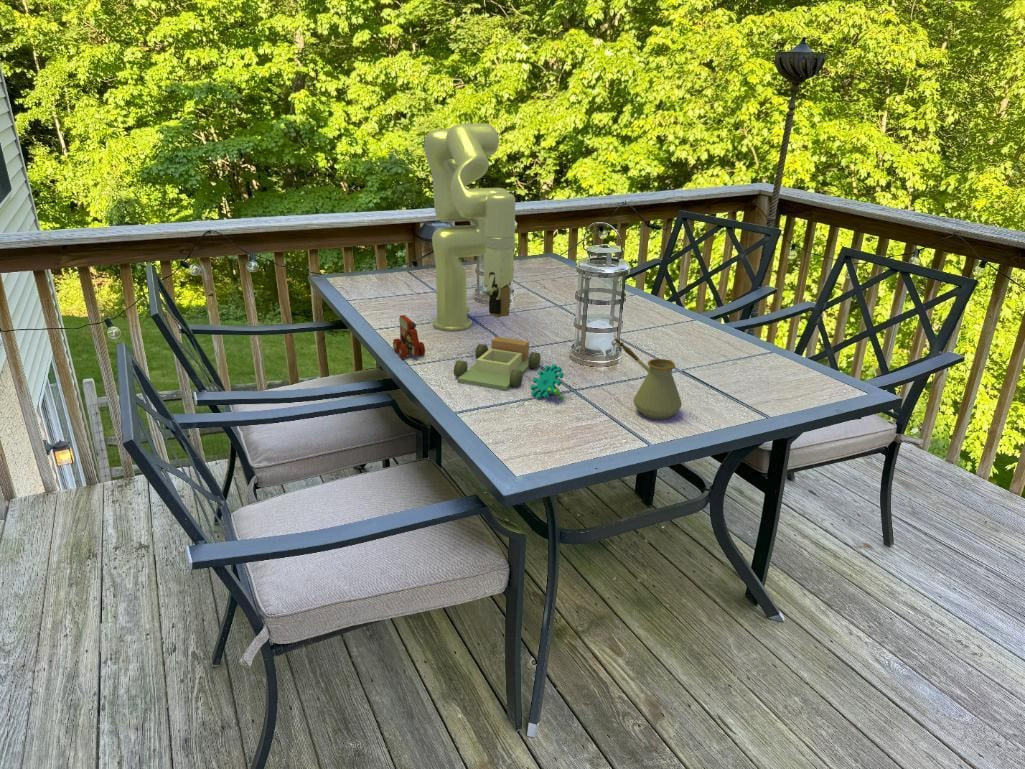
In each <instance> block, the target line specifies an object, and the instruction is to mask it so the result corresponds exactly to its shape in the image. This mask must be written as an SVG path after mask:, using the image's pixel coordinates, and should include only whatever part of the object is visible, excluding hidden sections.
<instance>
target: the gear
mask: <svg viewBox="0 0 1025 769" xmlns="http://www.w3.org/2000/svg"><path fill="white" fill-rule="evenodd" d="M537 375H538V376H539V377H536V376H534V377H533V379H532V380H531V381H532V382H533V383H534V384H531V385H530V388H529V389H530V390H531V395H532V397H536V398H538V400H541V399H542V398H545V399H547V398H549V396H550V394H552V395H553V396H554V397H555V398H558V399H560V400H561V401H565V398H564V396H562V395H561V391H560V389H559V388H558V387H560V386H561V385H562V383H563V382H562V381H561V380H560V379H563V377H564V375H565V374H564V372H563V369H562V367H561V366H560V365H559V366H557V365H556V364H555V363H553V364H552V365H551V367H550V365H545V366H544V371H543V370H540V369H539V371H537ZM558 378H559V379H558ZM535 384H536V385H535ZM555 384H556V385H557V386H556V385H555ZM549 393H550V394H549Z"/></svg>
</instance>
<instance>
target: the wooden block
mask: <svg viewBox="0 0 1025 769" xmlns="http://www.w3.org/2000/svg"><path fill="white" fill-rule="evenodd" d="M494 287H497V285H494ZM497 288H498V287H497ZM493 290H494V289H493ZM509 290H510V291H511V287H510V288H509V287H508V286H504V287H502V288H501V292H500V299H501V314H492V313H489V314H490V315H491V316H493V317H496V318H501V317H509V316H510V307H509ZM494 291H495V292H496V294H497V290H494Z"/></svg>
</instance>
